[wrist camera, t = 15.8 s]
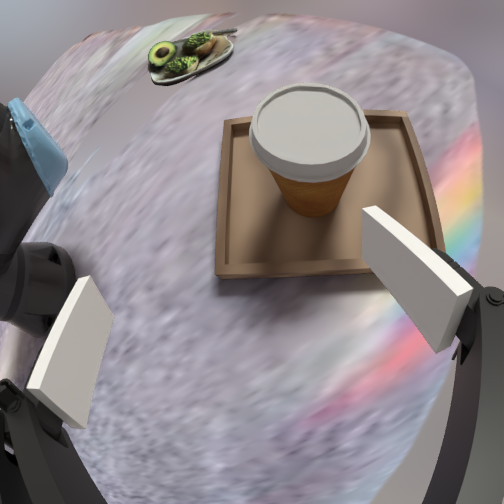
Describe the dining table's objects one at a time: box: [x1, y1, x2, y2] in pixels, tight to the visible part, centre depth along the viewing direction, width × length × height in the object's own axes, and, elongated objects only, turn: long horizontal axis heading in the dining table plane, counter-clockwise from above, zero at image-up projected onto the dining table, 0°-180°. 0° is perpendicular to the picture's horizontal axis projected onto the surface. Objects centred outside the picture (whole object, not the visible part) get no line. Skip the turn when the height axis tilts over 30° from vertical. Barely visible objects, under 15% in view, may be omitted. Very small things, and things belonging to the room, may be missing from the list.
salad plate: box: [148, 28, 237, 86], centre depth 42 cm, size 19×18×5 cm
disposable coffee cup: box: [249, 83, 371, 218], centre depth 24 cm, size 10×10×12 cm
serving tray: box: [215, 110, 446, 279], centre depth 30 cm, size 24×20×2 cm
